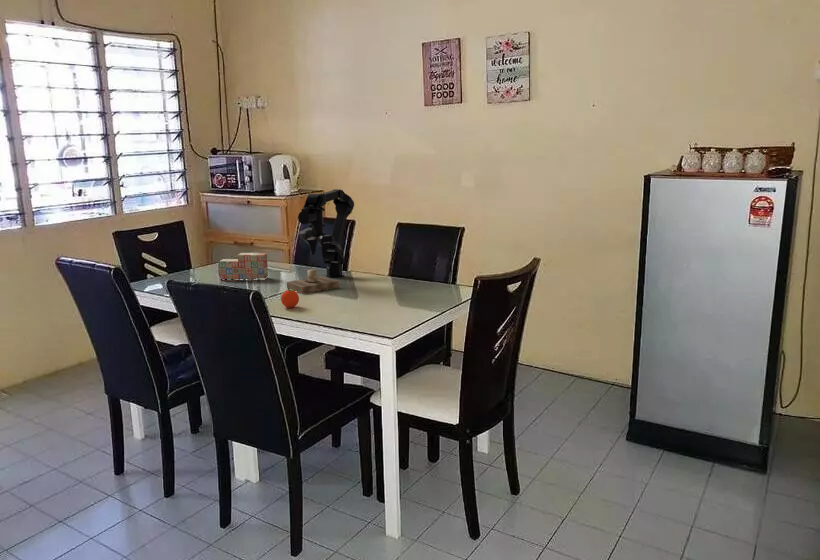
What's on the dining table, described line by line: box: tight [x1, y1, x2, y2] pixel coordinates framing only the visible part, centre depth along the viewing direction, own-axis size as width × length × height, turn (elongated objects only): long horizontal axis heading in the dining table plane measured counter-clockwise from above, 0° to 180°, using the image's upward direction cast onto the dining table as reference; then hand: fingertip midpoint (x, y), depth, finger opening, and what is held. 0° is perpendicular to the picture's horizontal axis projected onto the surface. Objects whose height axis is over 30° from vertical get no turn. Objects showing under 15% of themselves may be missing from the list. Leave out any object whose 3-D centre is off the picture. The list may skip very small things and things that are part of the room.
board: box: [286, 276, 340, 295], centre depth 285 cm, size 18×14×3 cm
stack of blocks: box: [218, 252, 269, 279], centre depth 306 cm, size 21×6×12 cm, turn 86°
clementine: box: [280, 289, 300, 309], centre depth 252 cm, size 8×7×7 cm
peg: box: [307, 269, 318, 283], centre depth 284 cm, size 4×4×8 cm
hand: (318, 256), depth 296 cm, fingers open, 9 cm apart
